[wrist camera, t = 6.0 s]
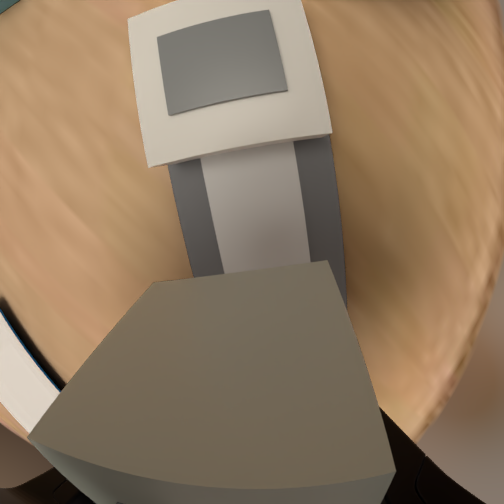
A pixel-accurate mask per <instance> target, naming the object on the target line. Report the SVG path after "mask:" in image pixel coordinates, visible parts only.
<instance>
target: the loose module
mask: <svg viewBox="0 0 504 504" xmlns="http://www.w3.org/2000/svg"><path fill="white" fill-rule="evenodd" d="M27 438H28V439H29V440H30V442H31V443H32V444H33V445H34V446H35V447H36V448H37V449H38V450H39V451H40V453H41V454H42V455H43V456H44V457H45V458H46V459H47V460H48V461H49V462H50V463H51V464H52V465H53V466H54V467H55V468H56V469H57V470H58V471H59V472H60V473H61V474H62V475H64V476H65V477H66V478H67V479H68V480H69V481H70V482H71V483H72V484H73V485H75V486H76V487H77V488H78V489H79V490H80V491H82V492H83V493H84V494H85V495H86V496H88V497H89V498H90V499H91V500H93V501H94V502H95V503H96V504H381V502H382V500H383V498H384V496H385V494H386V492H387V490H388V488H389V486H390V484H391V481H392V479H393V477H394V475H395V473H396V469H395V465H394V461H393V457H392V453H391V449H390V445H389V441H388V437H387V434H386V430H385V426H384V423H383V419H382V416H381V412H380V409H379V406H378V402H377V399H376V396H375V392H374V389H373V386H372V383H371V379H370V376H369V373H368V370H367V367H366V364H365V361H364V358H363V355H362V352H361V349H360V346H359V343H358V340H357V337H356V335H355V332H354V329H353V326H352V323H351V320H350V318H349V315H348V312H347V309H346V307H345V304H344V301H343V299H342V296H341V293H340V291H339V288H338V286H337V283H336V280H335V278H334V275H333V273H332V270H331V268H330V265H329V263H328V260H324V261H317V262H310V263H303V264H296V265H289V266H281V267H274V268H266V269H259V270H251V271H244V272H236V273H228V274H220V275H212V276H204V277H196V278H188V279H179V280H171V281H162V282H154V283H153V284H152V285H151V286H150V287H149V288H148V289H147V290H146V291H145V292H144V293H143V295H142V296H141V297H140V298H139V299H138V300H137V301H136V302H135V304H134V305H133V306H132V307H131V308H130V309H129V310H128V312H127V313H126V314H125V315H124V316H123V317H122V318H121V320H120V321H119V322H118V323H117V324H116V325H115V327H114V328H113V329H112V330H111V331H110V332H109V334H108V335H107V336H106V337H105V338H104V339H103V341H102V342H101V343H100V344H99V345H98V347H97V348H96V349H95V350H94V351H93V353H92V354H91V355H90V356H89V357H88V359H87V360H86V361H85V362H84V364H83V365H82V366H81V367H80V368H79V370H78V371H77V372H76V373H75V375H74V376H73V377H72V378H71V380H70V381H69V382H68V383H67V385H66V386H65V387H64V389H63V390H62V391H61V392H60V394H59V395H58V396H57V398H56V399H55V400H54V401H53V403H52V404H51V405H50V407H49V408H48V409H47V411H46V412H45V413H44V415H43V416H42V417H41V419H40V420H39V421H38V423H37V424H36V425H35V427H34V428H33V430H32V431H31V432H30V434H29V435H28V436H27Z"/></svg>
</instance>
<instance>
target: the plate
mask: <svg viewBox="0 0 504 504" xmlns="http://www.w3.org/2000/svg"><path fill="white" fill-rule="evenodd" d="M60 392H61V390H60V389H59V388H58V387H57V386H56V385H55V384H54V382H53V381H52V380H51V379H50V378H49V376H48V375H47V374H46V373H45V372H44V370H43V369H42V368H41V367H40V365H39V364H38V363H37V361H36V360H35V359H34V357H33V356H32V355H31V353H30V352H29V351H28V349H27V348H26V347H25V345H24V344H23V342H22V341H21V340H20V338H19V337H18V335H17V334H16V332H15V331H14V329H13V328H12V326H11V325H10V323H9V322H8V320H7V318H6V317H5V315H4V314H3V312H2V310H1V309H0V402H1V403H2V404H3V405H4V407H5V408H6V409H7V410H8V411H9V412H10V413H11V414H12V416H13V417H14V418H15V419H16V420H17V421H18V422H19V423H20V424H21V425H22V426H23V427H24V428H25V429H26V431H27V432H28V433H29V434H30V432H31V431H32V430H33V428H34V427H35V425H36V424H37V423H38V421H39V420H40V419H41V417H42V416H43V415H44V413H45V412H46V411H47V409H48V408H49V407H50V405H51V404H52V403H53V401H54V400H55V399H56V398H57V396H58V395H59V394H60Z"/></svg>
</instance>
